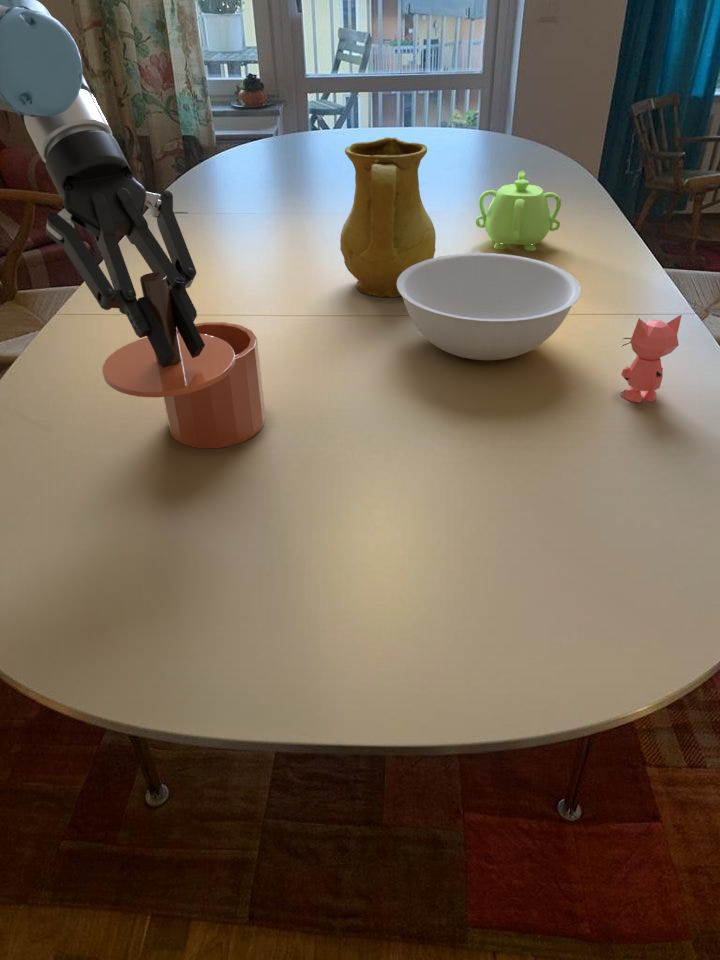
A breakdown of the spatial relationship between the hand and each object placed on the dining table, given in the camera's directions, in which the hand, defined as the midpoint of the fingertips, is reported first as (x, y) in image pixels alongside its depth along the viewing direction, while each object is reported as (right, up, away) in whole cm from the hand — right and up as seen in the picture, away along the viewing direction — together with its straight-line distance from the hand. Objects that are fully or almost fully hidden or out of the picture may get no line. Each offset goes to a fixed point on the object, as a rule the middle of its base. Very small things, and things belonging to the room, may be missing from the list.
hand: (183, 356), depth 73 cm
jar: (-1, -5, +25) cm, 25 cm away
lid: (-2, 0, +4) cm, 5 cm away
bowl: (+37, +9, +43) cm, 57 cm away
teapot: (+51, +38, +83) cm, 104 cm away
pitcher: (+22, +23, +63) cm, 71 cm away
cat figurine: (+57, -1, +28) cm, 63 cm away
